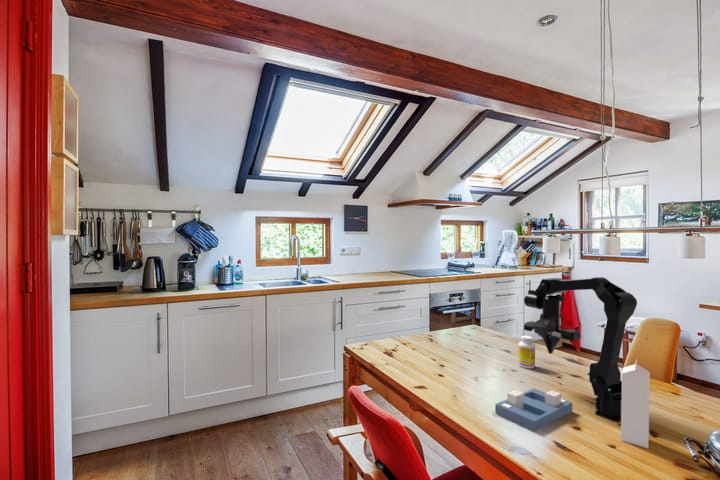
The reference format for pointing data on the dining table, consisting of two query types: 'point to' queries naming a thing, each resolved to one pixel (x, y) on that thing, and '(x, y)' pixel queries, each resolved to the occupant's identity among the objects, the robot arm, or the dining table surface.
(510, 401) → the tab
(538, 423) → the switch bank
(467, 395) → the dining table surface
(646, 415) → the milk
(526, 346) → the supplement bottle
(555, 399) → the tab
